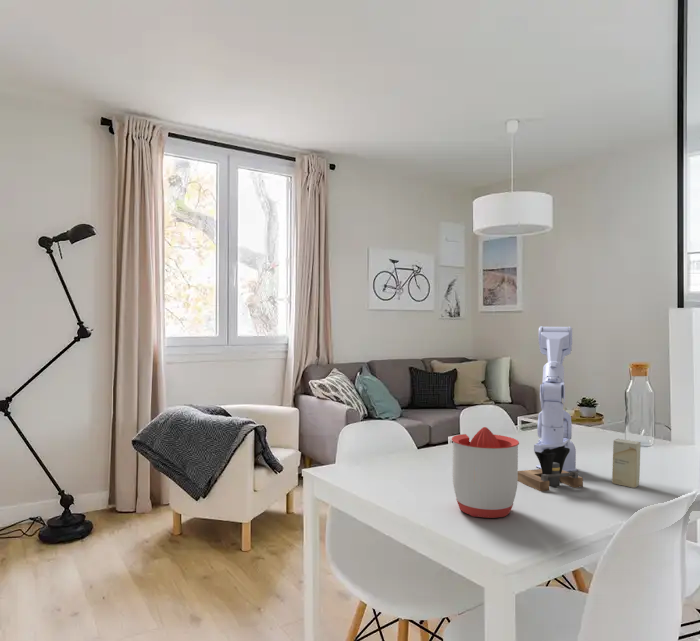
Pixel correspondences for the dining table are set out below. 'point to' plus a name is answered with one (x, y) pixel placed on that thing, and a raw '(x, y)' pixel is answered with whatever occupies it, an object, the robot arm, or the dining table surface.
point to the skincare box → (626, 463)
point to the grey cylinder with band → (555, 481)
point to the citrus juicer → (485, 473)
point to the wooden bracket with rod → (541, 480)
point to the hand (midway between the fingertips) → (552, 474)
